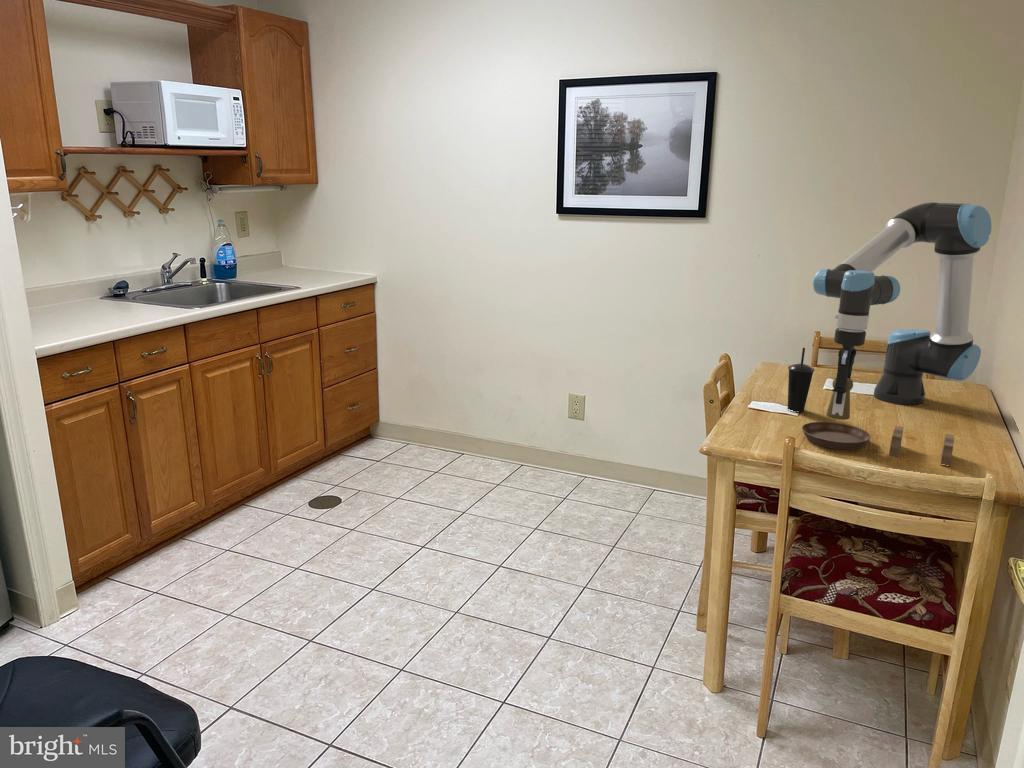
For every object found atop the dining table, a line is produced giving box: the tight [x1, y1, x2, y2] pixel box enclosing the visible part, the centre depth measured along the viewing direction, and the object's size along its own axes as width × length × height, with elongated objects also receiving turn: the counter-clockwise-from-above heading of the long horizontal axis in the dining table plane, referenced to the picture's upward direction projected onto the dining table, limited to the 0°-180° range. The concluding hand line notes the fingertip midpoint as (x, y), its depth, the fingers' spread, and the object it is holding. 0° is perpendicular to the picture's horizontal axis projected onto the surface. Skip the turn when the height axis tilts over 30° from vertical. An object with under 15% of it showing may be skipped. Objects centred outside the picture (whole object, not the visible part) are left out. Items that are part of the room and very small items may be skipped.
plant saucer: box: [801, 421, 872, 450], centre depth 208 cm, size 18×18×3 cm
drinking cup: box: [787, 347, 815, 413], centre depth 231 cm, size 8×8×20 cm
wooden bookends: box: [888, 425, 955, 465], centre depth 197 cm, size 10×14×6 cm
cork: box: [825, 377, 854, 421], centre depth 204 cm, size 6×6×11 cm
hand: (838, 412), depth 206 cm, fingers closed on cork, 4 cm apart
